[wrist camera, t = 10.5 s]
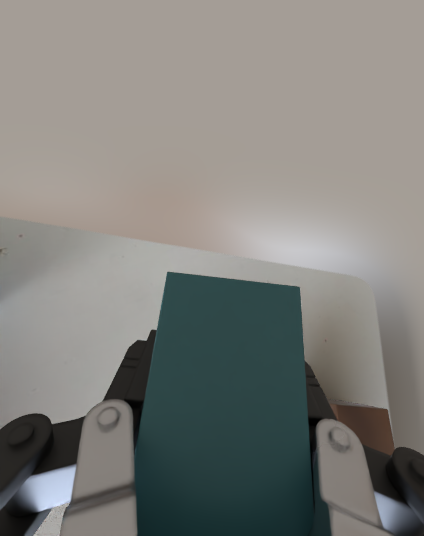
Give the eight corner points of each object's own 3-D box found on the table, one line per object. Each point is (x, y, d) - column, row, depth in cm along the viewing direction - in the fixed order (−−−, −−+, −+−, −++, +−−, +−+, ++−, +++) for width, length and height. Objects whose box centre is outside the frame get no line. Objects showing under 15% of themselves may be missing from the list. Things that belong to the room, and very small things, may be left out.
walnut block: (342, 400, 27) (388, 409, 21) (352, 491, 24) (411, 534, 18) (301, 396, 27) (336, 404, 21) (307, 487, 24) (349, 530, 17)
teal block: (243, 332, 17) (302, 286, 8) (238, 470, 14) (325, 644, 5) (179, 325, 17) (167, 271, 8) (159, 463, 14) (102, 631, 5)
